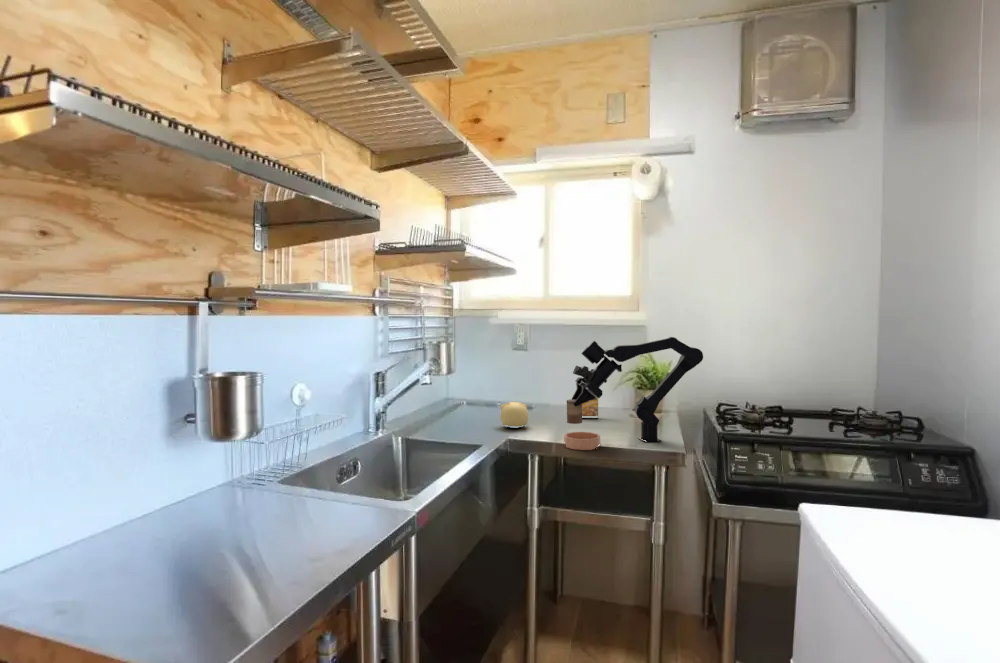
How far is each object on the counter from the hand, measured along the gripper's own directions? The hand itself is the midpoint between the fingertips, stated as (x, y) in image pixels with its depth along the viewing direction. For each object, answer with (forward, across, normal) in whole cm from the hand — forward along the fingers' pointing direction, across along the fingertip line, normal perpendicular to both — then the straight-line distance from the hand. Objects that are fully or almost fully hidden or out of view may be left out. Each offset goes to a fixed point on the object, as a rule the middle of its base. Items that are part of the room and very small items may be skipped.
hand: (572, 404), depth 188 cm
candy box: (-2, -41, +21) cm, 46 cm away
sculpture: (+23, -25, -4) cm, 34 cm away
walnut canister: (+4, 0, +5) cm, 7 cm away
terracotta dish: (+8, +8, +10) cm, 16 cm away
